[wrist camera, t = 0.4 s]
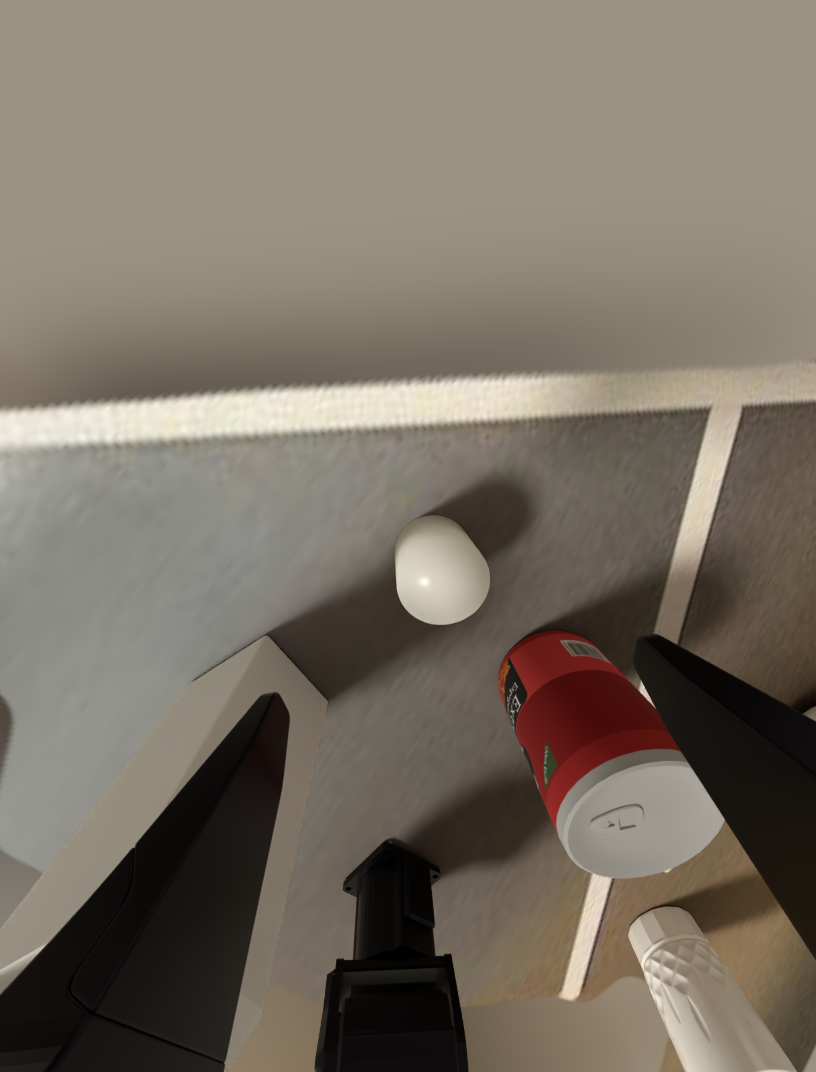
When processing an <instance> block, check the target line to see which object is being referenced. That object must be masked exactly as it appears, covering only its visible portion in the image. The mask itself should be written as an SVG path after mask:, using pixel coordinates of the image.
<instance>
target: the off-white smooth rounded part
mask: <svg viewBox="0 0 816 1072" xmlns="http://www.w3.org/2000/svg"><path fill="white" fill-rule="evenodd" d="M395 567H396V582H397V592H398V596H399V599H400V601H401V603H402V605H403V606H404V607H405V609H406V610H407V611H408V612H409V613H410V614H411V615H412V616H414V617H415V618H417V619H419V620H421V621H423V622H426V623H429V624H435V625H447V624H453V623H456V622H459V621H461V620H464V619H466V618H467V617H469V616H470V615H472V614H473V613H474V612H475V611H476V610H477V609H478V608H479V607H480V606H481V605H482V603H483V602H484V600H485V598H486V596H487V594H488V591H489V587H490V572H489V568H488V565H487V563H486V561H485V559H484V557H483V556H482V554H481V553H480V552H479V550H478V549H477V548H476V546H475V545H474V543H473V542H472V541H471V539H470V538H469V537H468V535H467V534H466V533H465V531H464V530H463V529H462V527H461V526H460V525H459V524H458V523H456V522H455V521H453V520H451V519H449V518H447V517H444V516H439V515H428V516H423V517H420V518H418V519H416V520H414V521H412V522H410V523H409V524H408V525H407V526H406V527H405V528H404V529H403V530H402V531H401V533H400V534H399V536H398V538H397V541H396V545H395Z"/></svg>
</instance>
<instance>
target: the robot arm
mask: <svg viewBox="0 0 816 1072" xmlns="http://www.w3.org/2000/svg"><path fill="white" fill-rule="evenodd" d="M633 662H634V666H635V669H636V671H637V673H638V675H639V677H640V679H641V681H642V683H643V685H644V687H645V688H646V690H647V692H648V694H649V696H650V698H651V700H652V702H653V704H654V706H655V708H656V710H657V712H658V714H659V716H660V718H661V719H662V721H663V723H664V725H665V727H666V729H667V730H668V732H669V734H670V735H671V737H672V739H673V740H674V742H675V743H676V745H677V746H678V748H679V750H680V751H681V753H682V754H683V756H684V757H685V759H686V760H687V762H688V763H689V765H690V767H691V768H692V770H693V771H694V773H695V774H696V776H697V777H698V779H699V781H700V782H701V784H702V785H703V787H704V788H705V790H706V791H707V793H708V794H709V796H710V798H711V799H712V801H713V802H714V804H715V805H716V807H717V808H718V810H719V811H720V813H721V815H722V816H723V818H724V819H725V821H726V822H727V824H728V825H729V827H730V828H731V830H732V832H733V833H734V835H735V836H736V838H737V839H738V841H739V842H740V844H741V846H742V847H743V849H744V850H745V852H746V853H747V855H748V856H749V858H750V859H751V861H752V863H753V864H754V866H755V867H756V869H757V870H758V872H759V873H760V875H761V876H762V878H763V880H764V881H765V883H766V884H767V886H768V887H769V889H770V890H771V892H772V893H773V895H774V897H775V898H776V900H777V901H778V903H779V904H780V906H781V907H782V909H783V911H784V912H785V914H786V915H787V917H788V918H789V920H790V921H791V923H792V924H793V926H794V928H795V929H796V931H797V932H798V934H799V935H800V937H801V938H802V940H803V941H804V943H805V945H806V946H807V948H808V949H809V951H810V952H811V954H812V955H813V957H814V958H815V960H816V721H815V720H813V719H811V718H809V717H807V716H806V715H804V714H802V713H800V712H798V711H797V710H795V709H793V708H791V707H789V706H787V705H786V704H784V703H782V702H780V701H778V700H777V699H775V698H773V697H771V696H769V695H768V694H766V693H764V692H762V691H760V690H758V689H757V688H755V687H753V686H751V685H749V684H748V683H746V682H744V681H742V680H740V679H738V678H737V677H735V676H733V675H731V674H729V673H728V672H726V671H724V670H722V669H720V668H719V667H717V666H715V665H713V664H711V663H709V662H708V661H706V660H704V659H702V658H700V657H699V656H697V655H695V654H693V653H691V652H689V651H688V650H686V649H684V648H682V647H680V646H679V645H677V644H675V643H673V642H671V641H670V640H668V639H666V638H664V637H662V636H660V635H658V634H649V635H643V636H639V637H638V639H637V642H636V647H635V652H634V658H633ZM289 725H290V714H289V711H288V709H287V707H286V705H285V703H284V701H283V699H282V697H281V695H280V694H279V693H278V692H272V693H265V694H262V695H261V696H260V697H259V698H258V699H257V700H256V701H255V702H254V703H253V705H252V706H251V707H250V708H249V709H248V711H247V712H246V713H245V714H244V715H243V717H242V718H241V719H240V720H239V721H238V722H237V724H236V725H235V726H234V727H233V728H232V730H231V731H230V732H229V733H228V734H227V736H226V737H225V738H224V739H223V740H222V741H221V743H220V744H219V745H218V746H217V747H216V749H215V750H214V751H213V752H212V753H211V755H210V756H209V757H208V758H207V759H206V761H205V762H204V763H203V764H202V765H201V766H200V768H199V769H198V770H197V771H196V772H195V774H194V775H193V776H192V777H191V778H190V780H189V781H188V782H187V783H186V784H185V785H184V787H183V788H182V789H181V790H180V791H179V793H178V794H177V795H176V796H175V797H174V799H173V800H172V801H171V802H170V803H169V804H168V806H167V807H166V808H165V809H164V810H163V812H162V813H161V814H160V815H159V816H158V818H157V819H156V820H155V821H154V822H153V823H152V825H151V826H150V827H149V828H148V829H147V831H146V832H145V833H144V834H143V835H142V837H141V838H140V839H139V840H138V841H137V842H136V844H135V848H131V849H130V851H129V852H128V853H127V854H126V855H125V857H124V858H123V859H122V860H121V861H120V863H119V864H118V865H117V866H116V867H115V868H114V870H113V871H112V872H111V873H110V874H109V875H108V877H107V878H106V879H105V880H104V881H103V882H102V883H101V885H100V886H99V887H98V888H97V889H96V890H95V892H94V893H93V894H92V895H91V896H90V897H89V898H88V900H87V901H86V902H85V903H84V904H83V905H82V906H81V907H80V908H79V910H78V911H77V912H76V913H75V914H74V915H73V916H72V917H71V918H70V919H69V920H68V922H67V923H66V924H65V925H64V926H63V927H62V928H61V929H60V930H59V931H58V933H57V934H56V935H55V936H54V937H53V938H52V939H51V940H50V941H49V942H48V943H47V944H46V945H45V947H44V948H43V949H42V950H41V951H40V952H39V953H38V954H37V955H36V956H35V957H34V958H33V959H32V960H31V962H30V963H29V964H28V965H27V966H26V967H25V968H24V969H23V970H22V971H21V972H20V973H19V974H18V975H17V976H16V978H15V979H14V980H13V981H12V982H11V983H10V984H9V985H8V986H7V987H6V988H5V989H4V990H3V991H2V993H1V994H0V1072H224V1068H225V1063H224V1062H225V1061H226V1058H227V1053H228V1048H229V1043H230V1038H231V1033H232V1029H233V1024H234V1019H235V1014H236V1009H237V1005H238V1000H239V995H240V990H241V985H242V981H243V976H244V971H245V966H246V961H247V956H248V952H249V947H250V942H251V937H252V932H253V928H254V923H255V918H256V913H257V908H258V904H259V899H260V894H261V889H262V884H263V880H264V875H265V870H266V865H267V860H268V855H269V851H270V846H271V841H272V836H273V831H274V827H275V822H276V817H277V812H278V807H279V803H280V798H281V792H282V787H283V780H284V772H285V763H286V753H287V744H288V735H289ZM440 877H441V872H440V869H439V868H437V867H435V866H433V865H431V864H429V863H427V862H425V861H423V860H421V859H419V858H417V857H415V856H413V855H411V854H409V853H407V852H405V851H403V850H401V849H399V848H397V847H395V846H393V845H391V844H389V843H385V844H383V845H382V846H381V847H379V848H378V849H377V850H376V851H375V852H374V853H373V854H372V855H371V856H370V857H369V858H368V859H367V860H366V861H365V862H364V863H363V864H362V865H361V866H360V867H359V868H358V869H357V870H356V871H355V872H353V873H352V874H351V875H350V876H349V877H348V878H347V879H346V880H345V881H344V883H343V891H345V892H346V893H349V894H351V895H353V896H355V897H357V902H356V917H355V933H354V949H353V960H344V958H342V959H337V960H336V969H334V971H332V972H330V973H329V974H327V980H326V990H325V999H324V1007H323V1014H322V1020H321V1027H320V1033H319V1040H318V1045H317V1052H316V1059H315V1072H468V1059H467V1048H466V1040H465V1031H464V1025H463V1020H462V1013H461V1007H460V1002H459V996H458V990H457V985H456V979H455V973H454V967H453V962H452V956H451V954H444V956H435V946H434V935H433V928H434V927H435V919H434V909H433V899H432V888H431V886H432V885H433V884H434V883H435V882H436V881H438V880H439V879H440Z"/></svg>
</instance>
